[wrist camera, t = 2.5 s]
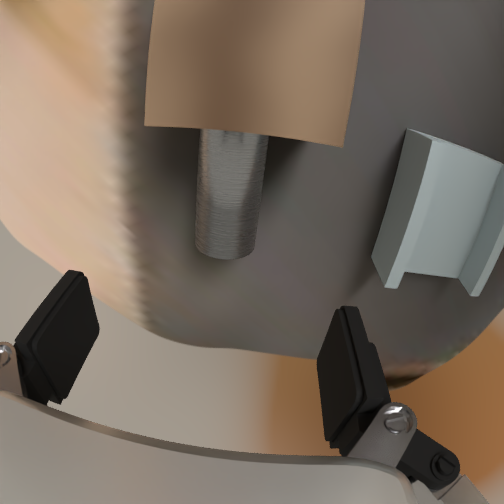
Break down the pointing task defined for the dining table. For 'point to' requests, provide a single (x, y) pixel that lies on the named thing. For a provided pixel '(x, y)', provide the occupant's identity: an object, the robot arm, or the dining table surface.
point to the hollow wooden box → (254, 66)
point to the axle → (229, 192)
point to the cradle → (442, 214)
